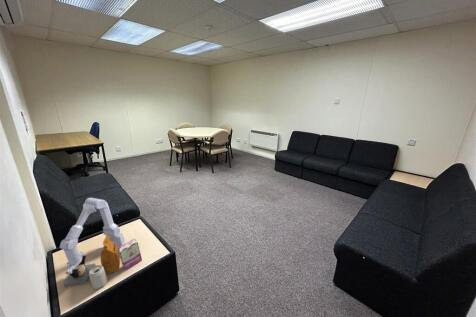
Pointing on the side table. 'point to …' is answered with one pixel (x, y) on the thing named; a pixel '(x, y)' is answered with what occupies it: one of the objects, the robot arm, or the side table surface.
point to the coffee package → (110, 256)
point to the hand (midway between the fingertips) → (79, 272)
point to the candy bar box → (129, 254)
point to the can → (98, 276)
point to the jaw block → (81, 270)
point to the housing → (80, 280)
